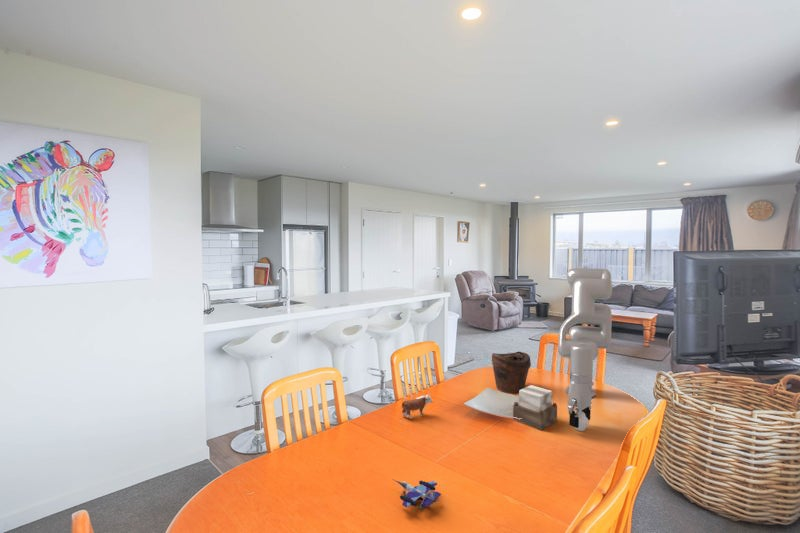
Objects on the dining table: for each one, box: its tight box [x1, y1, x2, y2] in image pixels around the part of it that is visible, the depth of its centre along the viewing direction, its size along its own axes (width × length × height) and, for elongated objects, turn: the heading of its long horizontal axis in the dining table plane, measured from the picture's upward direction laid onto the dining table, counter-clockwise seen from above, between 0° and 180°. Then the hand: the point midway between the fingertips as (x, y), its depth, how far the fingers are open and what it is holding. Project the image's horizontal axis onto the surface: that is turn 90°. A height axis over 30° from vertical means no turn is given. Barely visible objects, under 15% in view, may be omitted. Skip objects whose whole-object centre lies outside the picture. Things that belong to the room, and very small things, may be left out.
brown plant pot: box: [491, 351, 532, 394], centre depth 192 cm, size 18×20×18 cm
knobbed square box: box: [512, 384, 558, 431], centre depth 157 cm, size 12×12×12 cm
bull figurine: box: [401, 394, 434, 420], centre depth 162 cm, size 4×13×8 cm, turn 112°
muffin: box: [574, 411, 590, 432], centre depth 150 cm, size 6×6×7 cm
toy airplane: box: [393, 479, 442, 511], centre depth 109 cm, size 13×14×4 cm
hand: (579, 422), depth 150 cm, fingers open, 9 cm apart
